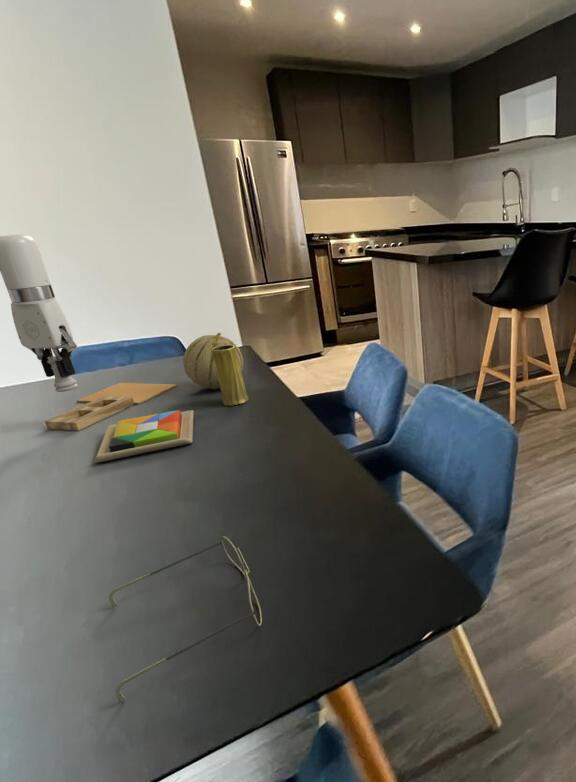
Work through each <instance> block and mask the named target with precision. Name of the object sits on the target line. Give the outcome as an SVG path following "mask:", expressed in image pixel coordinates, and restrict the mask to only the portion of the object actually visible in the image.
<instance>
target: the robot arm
mask: <svg viewBox="0 0 576 782" xmlns="http://www.w3.org/2000/svg"><path fill="white" fill-rule="evenodd" d="M0 274H1V277H2V279H3V282H4V285H5V288H6V291H7V294H8V295H9V299H10V301H11V303H10V309H11V310H10V311H11V315H12V320H13V324H14V327H15V331H16V333H17V336H18V339H19V342H20V344H21V346H22V347H24V348H26V349H28V350H30V351H32V353H33V354H34V355H36V358H37V360H38V361H40V363H41V366H42V368H43V369H42V370H43V371H44V374H45V376H46V377H47V378H51V377H55V376H54V372H53V369H51V364H49V363H47V361H48V357H50V358H51V356H54V357H56V359H57V361H55V363H56V366H57V368H58V371H59V374H60V376H61V377H63V378H64V377H67V376H73V375H75V374H76V371H75V369H74V365H73V362H72V359H71V358H72V353H73V351H74V350H75V349H76V348H77V346H78V345H77V343H75V341H74V338H73V333H72V330H71V327H70V325H69V322H68V320H67V318H66V315H65V313H64V311H63V309H62V307H61V305H60V303H59V302H58V299H57V298H56V295H55V292H54V290H53V286H52V284H51V281H50V278H49V276H48V272H47V269H46V267H45V264H44V261H43V258H42V255H41V251H40V249H39V246H38V244H37V241H36V240H35V238H34V237H33V236H31V235H27V234H8V235H0ZM60 349H61V350H60Z"/></svg>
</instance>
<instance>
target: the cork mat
mask: <svg viewBox="0 0 576 782" xmlns="http://www.w3.org/2000/svg"><path fill="white" fill-rule="evenodd" d="M176 387H178V384H174V383H137V382H119V383H118V382H117V383H115V384H113V385H111V386H108V387H106V388H103V389H101V390H98V391H96V392H94V393H91V394H89V395H87V396H84V397H82V398H79V399H77V400H76V403H89V402H91V401H93V400H96V399H98V398H101V397H103V396H111V397H132V398H133V401H134V405H141V404H143V403H145V402H148V401H149V400H152V399H153V398H155V397H157V396H160V395H162V394H165V393H166V392H169V391H170V390H172V389H174V388H176Z"/></svg>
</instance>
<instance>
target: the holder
mask: <svg viewBox="0 0 576 782" xmlns="http://www.w3.org/2000/svg"><path fill="white" fill-rule="evenodd" d="M134 405H135V404H134V401H133V398H132V397H111V396H103V397H101V398H98V399H96V400H93V401H91V402H89V403H88V402H85V404H82V405H79V406H77V407H75V408H73V409H70V410H67V411H65V412H63V413H61V414H58V415H55V416H53V417H51V418H49V419H47V420H44V424H45V426H46V429H47V430H61V431H78V432H79V431H81V430H84V429H86V428H88V427H90V426H92V425H94V424H96V423H98V422H100V421H102V420H105V419H107V418H110V417H111V416H113V415H115V414H117V413H120V412H121V411H123V410H126V409H127V408H130V407H132V406H134Z"/></svg>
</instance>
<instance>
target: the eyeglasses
mask: <svg viewBox="0 0 576 782" xmlns="http://www.w3.org/2000/svg"><path fill="white" fill-rule="evenodd" d="M223 539H225V540H227V542H228V543H229V544H230V546H231V547H232V548H233V550H234V552H235V554H236V556H237V558H238V561H239V563H240V565H241V566H239V565H237V563H236V562H235V561H234V560H233V559H232V558H231V556H230V555H229V553H228V551H227V549H226V547H225V544H224V541H223ZM220 545H221V546H222V548H223V550H224V552H225V555H226V557H227V558H228V559H229V560H230V562H231V563H232V564H233V565H234V566H235V567H236V568H237V569H238V570H239V571H240V572H241V573H242V574H243V575H244V580H246V582H247V593H248V602H249V606H250V611H251V612H250V613H248V614H246V615H244V616H242V617H240V618H239V619H237V620H234V621H233V622H231V623H230V624H227V625H226V626H224V627H222V628H220V629H218V630H216V631H215V632H212V633H210V634H208V635H207V636H205V637H203V638H201V639H199V640H198V641H195V642H194V643H191V644H190V645H188V646H185V647H184V648H182V649H181V650H179V651H177V652H175V653H173V654H171V655H170V656H167V657H164V658H163V659H161V660H158V661H156V662H155V663H153V664H152V665H151V664H150V665H149V666H148V667H145V668H143V669H142V670H140V671H138V672H136V673H134V674H133V675H130V676H129V677H127V678H125V679H123V680H122V681H121V682H120V683H118V685H117V686H116V688H115V697H116V698H117V700H118V703H120V704H121V703H123V702H125V701H126V697H125V696H124V695H123V694H122V693H123V692H121V689H122V687H123V686H124V685H125V684H127V683H128V682H131V681H132V680H135V679H136V678H138V677H140V676H142V675H144V674H145V673H148V672H149V671H151V670H153V669H156V668H157V667H159V666H161V665H163V664H164V663H166V662H168V661H170V660H171V659H173V658H175V657H177V656H178V655H181V654H183V653H185V652H186V651H188V650H190V649H192V648H194V647H196V646H197V645H199V644H202V643H203V642H205V641H207V640H209V639H211V638H212V637H214V636H216V635H218V634H220V633H222V632H224V631H225V630H227V629H229V628H231V627H233V626H235V625H237V624H238V623H240V622H242V621H244V620H246V619H247V618H250V617H253V619H254V621H255V623H256V625H257V627H261V626H262V623H263V614H262V609H261V605H260V602H259V599H258V597H257V593H256V592H255V590H254V587H253V584H252V582H251V579H250V577H249V573H250V572H251V570H250V568H249V567H248V564H247V562H246V561H245V557H244V556H243V554H242V552H241V550H240V548H239V547H235V545H234V544H233V542H232V541H231V540H230V539H229V538H228V537H227V536H225V535H222V536H221V537H220V541H219V542H217V543H215V544H212V545H210V546H208V547H205V548H203V549H201V550H199V551H196V552H194V553H192V554H190V555H188V556H185V557H183V558H181V559H179V560H176V561H174V562H172V563H169V564H168V565H165V566H163V567H161V568H159V569H156V570H154V571H152V572H150V573H147V574H145V575H142V576H140V577H138V578H135V579H133V580H131V581H129V582H126V583H125V584H122V585H120V586H117V587H115V588H114V589H112V590H111V592H110V593H109V595H108V601H109V603H110V605H111V607H112V608H114V607H116V606H118V604H117V602H116V601H115V599H114V594H115V593H116V592H118V591H121V590H122V589H125V588H127V587H130V586H132V585H134V584H136V583H138V582H140V581H143V580H145V579H147V578H149V577H151V576H153V575H156V574H158V573H160V572H162V571H164V570H167V569H169V568H171V567H173V566H175V565H178V564H180V563H182V562H185V561H186V560H188V559H191V558H193V557H195V556H198V555H200V554H203V553H205V552H206V551H209V550H211V549H213V548H216V547H217V546H220ZM244 565H245V566H244ZM245 567H246V569H245ZM251 591H252V594H253V596H254V598H255V601H256V604H257V608H258V612H259V621H258V619H257V616H256V612H255V610H254V606H253V604H252V603H253V602H252V596H251Z"/></svg>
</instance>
